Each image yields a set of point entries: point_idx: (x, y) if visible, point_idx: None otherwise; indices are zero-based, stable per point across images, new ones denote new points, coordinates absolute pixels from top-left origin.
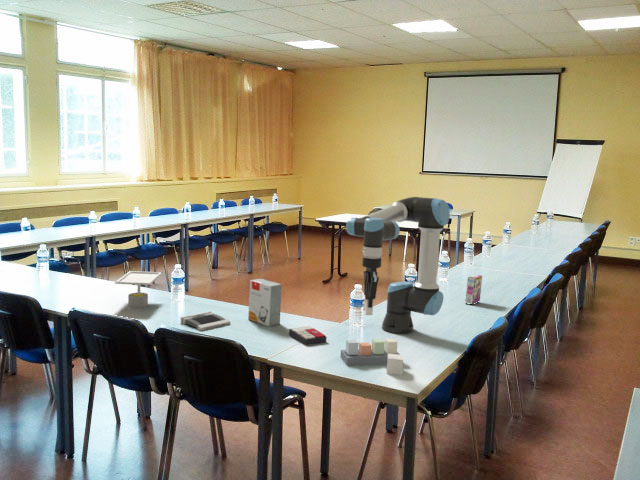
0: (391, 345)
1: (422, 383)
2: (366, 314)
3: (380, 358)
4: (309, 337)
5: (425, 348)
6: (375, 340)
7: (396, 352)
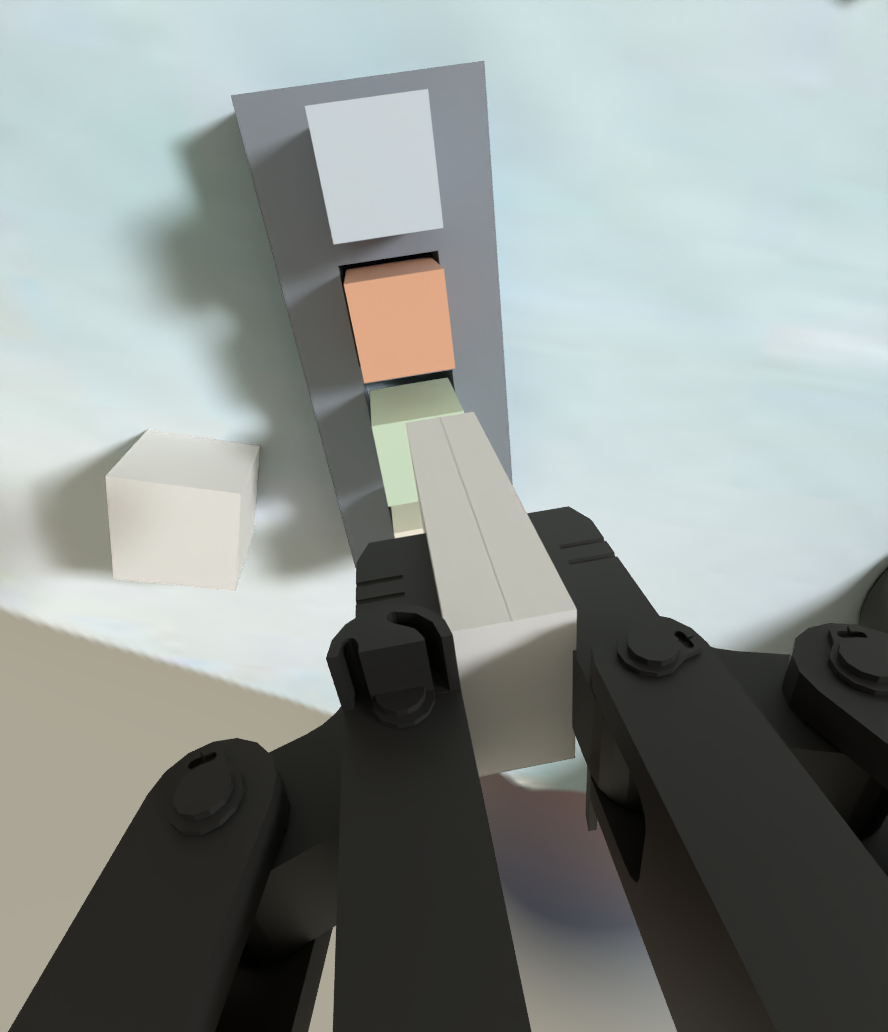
0: None
1: (34, 605)
2: (408, 436)
3: (319, 425)
4: None
5: None
6: None
7: None
